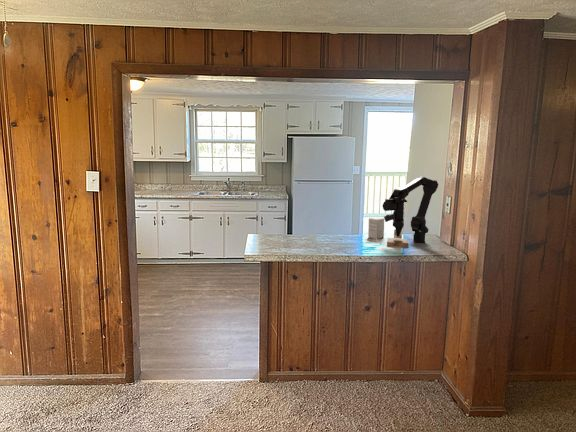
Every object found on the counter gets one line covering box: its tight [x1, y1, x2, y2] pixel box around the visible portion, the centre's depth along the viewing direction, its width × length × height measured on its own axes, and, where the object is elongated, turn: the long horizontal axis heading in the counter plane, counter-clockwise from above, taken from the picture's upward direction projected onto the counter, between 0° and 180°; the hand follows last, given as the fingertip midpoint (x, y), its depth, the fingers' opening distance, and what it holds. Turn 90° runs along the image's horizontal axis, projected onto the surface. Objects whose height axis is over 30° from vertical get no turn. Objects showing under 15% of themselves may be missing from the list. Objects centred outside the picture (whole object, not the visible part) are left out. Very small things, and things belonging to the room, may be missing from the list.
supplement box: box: [367, 216, 385, 240], centre depth 271 cm, size 7×7×13 cm
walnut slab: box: [386, 237, 409, 248], centre depth 249 cm, size 12×12×3 cm
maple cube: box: [393, 228, 403, 239], centre depth 249 cm, size 4×4×4 cm
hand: (397, 235), depth 249 cm, fingers closed on maple cube, 4 cm apart
